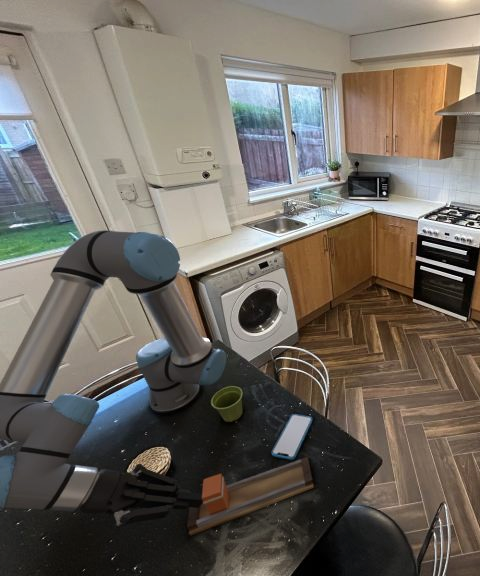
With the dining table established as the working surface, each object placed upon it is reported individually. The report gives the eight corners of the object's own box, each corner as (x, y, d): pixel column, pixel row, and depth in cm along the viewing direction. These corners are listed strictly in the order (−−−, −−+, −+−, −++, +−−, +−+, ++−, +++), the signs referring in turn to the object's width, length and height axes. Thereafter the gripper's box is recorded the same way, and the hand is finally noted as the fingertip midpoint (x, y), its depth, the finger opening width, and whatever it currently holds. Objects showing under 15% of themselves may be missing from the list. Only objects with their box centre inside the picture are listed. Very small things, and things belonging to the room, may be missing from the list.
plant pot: (236, 429, 101) (230, 411, 97) (211, 423, 102) (204, 405, 98) (253, 406, 109) (248, 388, 105) (229, 401, 110) (223, 384, 106)
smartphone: (313, 417, 104) (293, 458, 91) (313, 419, 105) (294, 461, 92) (292, 413, 105) (270, 453, 92) (292, 415, 106) (270, 456, 93)
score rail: (194, 502, 82) (190, 496, 80) (308, 461, 92) (307, 455, 90) (190, 535, 75) (186, 529, 74) (313, 487, 85) (312, 481, 84)
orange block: (212, 498, 81) (203, 479, 77) (229, 492, 83) (221, 472, 78) (210, 518, 77) (201, 499, 73) (229, 511, 79) (220, 492, 74)
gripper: (90, 472, 69) (195, 485, 82) (63, 536, 58) (189, 540, 72) (109, 449, 68) (213, 466, 82) (85, 510, 57) (208, 519, 71)
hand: (201, 501), depth 77 cm, fingers closed
